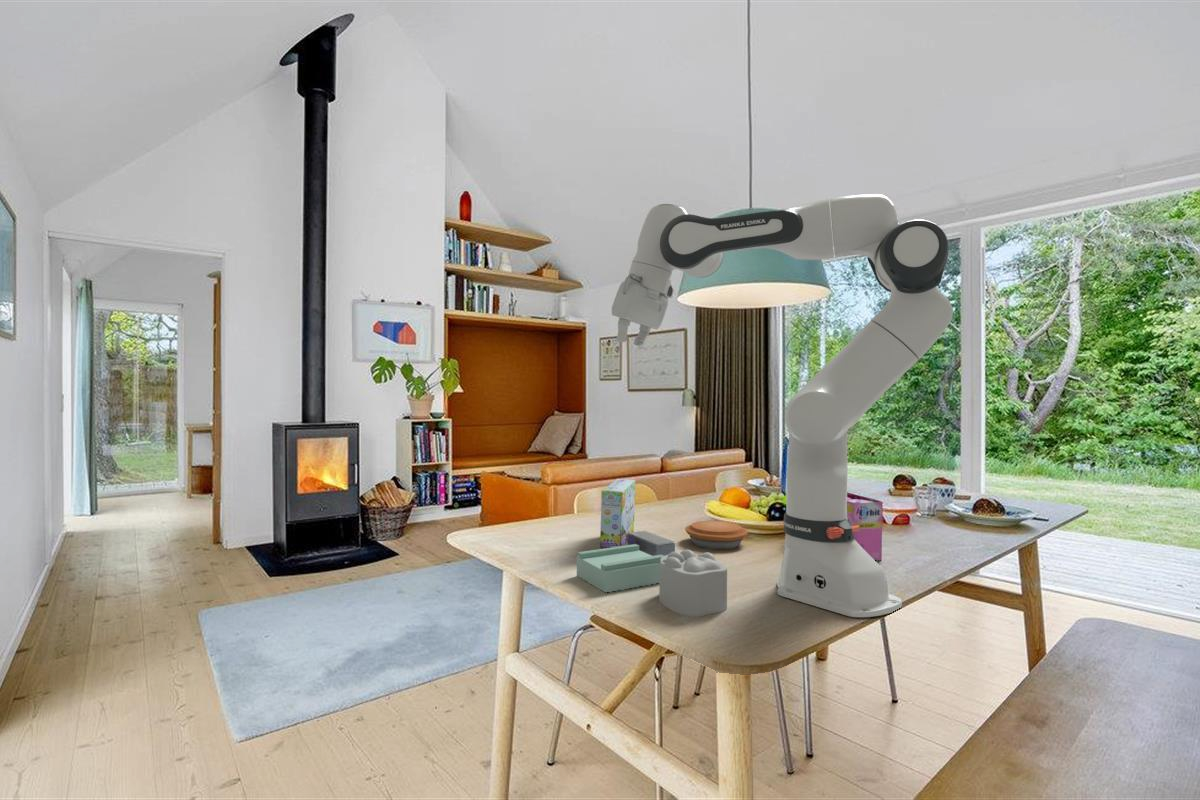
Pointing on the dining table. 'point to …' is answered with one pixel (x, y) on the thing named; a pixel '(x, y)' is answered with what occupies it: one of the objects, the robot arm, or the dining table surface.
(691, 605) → the grey lumpy block
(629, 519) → the snack box
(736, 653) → the dining table surface
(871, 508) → the gum box
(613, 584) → the stand
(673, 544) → the block
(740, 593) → the dining table surface
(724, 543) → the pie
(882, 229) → the robot arm
